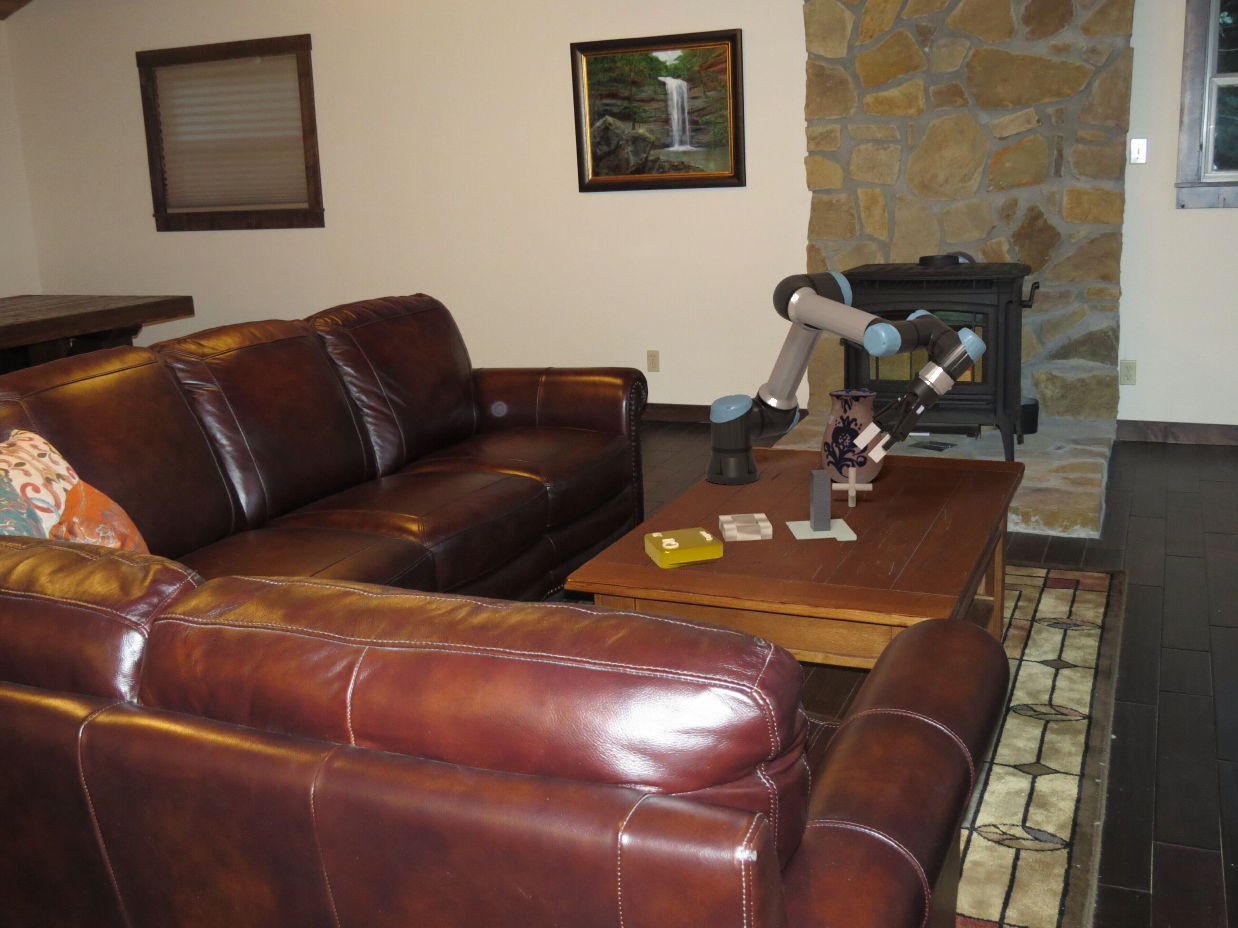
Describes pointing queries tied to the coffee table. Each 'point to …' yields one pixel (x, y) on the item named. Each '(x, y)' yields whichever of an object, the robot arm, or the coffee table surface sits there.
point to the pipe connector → (852, 487)
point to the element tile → (682, 547)
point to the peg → (820, 500)
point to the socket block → (745, 527)
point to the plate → (836, 530)
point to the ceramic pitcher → (850, 436)
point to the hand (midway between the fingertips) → (864, 452)
